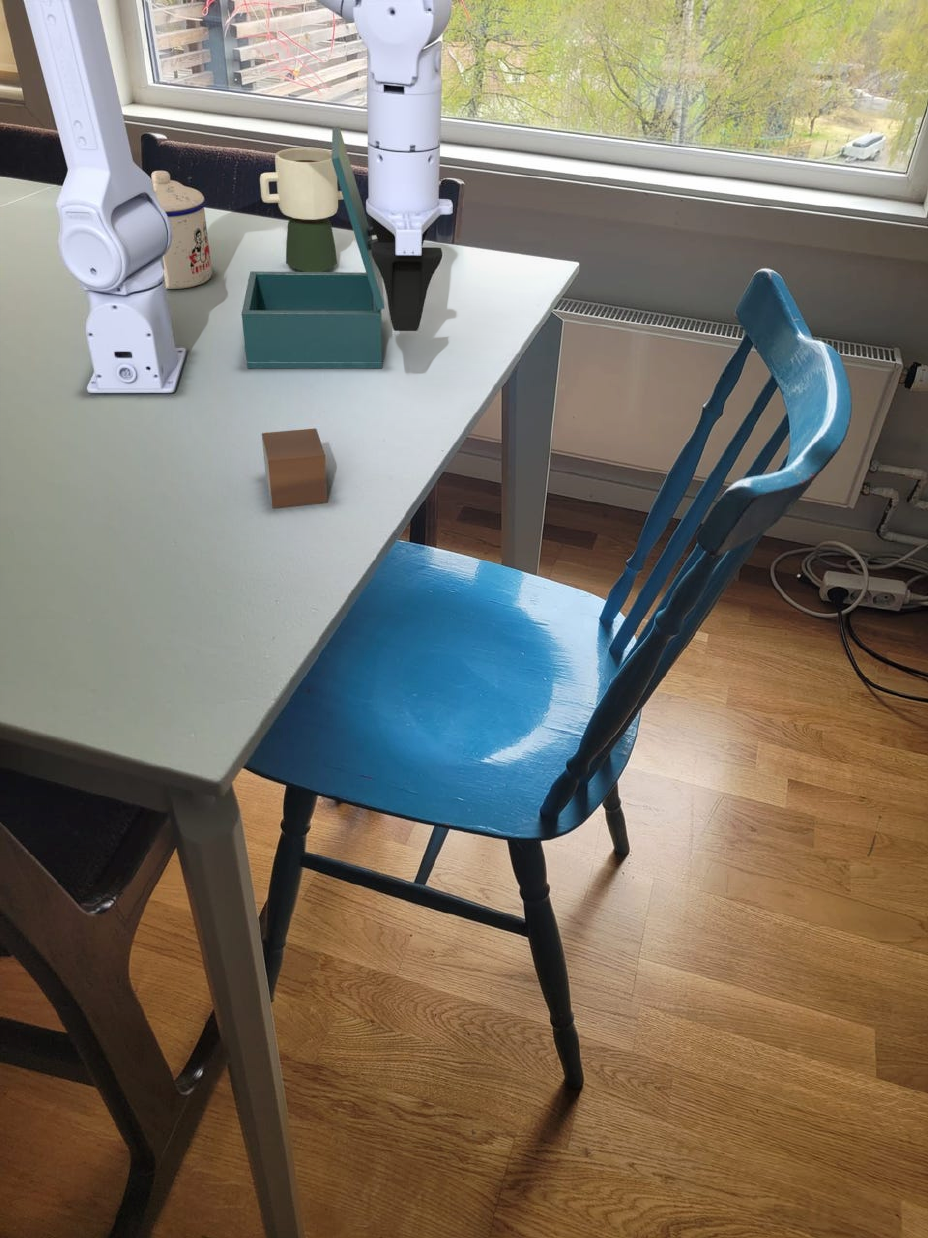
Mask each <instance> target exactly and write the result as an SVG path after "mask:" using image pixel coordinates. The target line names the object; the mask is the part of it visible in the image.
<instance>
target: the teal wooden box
mask: <svg viewBox="0 0 928 1238" xmlns="http://www.w3.org/2000/svg"><path fill="white" fill-rule="evenodd" d="M241 321H242V330H243V331H242V333H243V339H244V340H243V341H244V350H245V351H244V352H245V361H246V368H247V369H382V368H383V351H382V349H383V346H382V345H383V341H382V339H383V338H382V331H383V330H382V309H381V310H378V309H377V306H376V303H375V300H374V296H373V293H372V290H371V286H370V283H369V280H368V277H367V273H366V272H351V271H350V272H348V271H345V272H343V271H341V272H340V271H323V272H306V271H259V270H258V271H252V270H251V271H249V276H248V281H247V285H246V290H245V296H244V300H243V305H242V310H241Z"/></svg>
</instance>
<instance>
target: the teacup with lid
mask: <svg viewBox="0 0 928 1238" xmlns="http://www.w3.org/2000/svg"><path fill="white" fill-rule="evenodd" d="M150 176H151V177H150V178H151V179H152V182H153V187H154V191H155V195H156V197H157V199H158V201H159V203H160V205H161V206H162V208H163V209H164V211H165V212H166V214H167V216H168V218H169V221H170V224H171V228H172V242H171V246H170V248H169V250H168V251H167V253H166V254H165V255H164V256H163V262H164V270H163V271H164V278H165V284H166V290H180V289H181V290H182V289H188V288H194V287H198V286H200V285H202V284H204V283H206V282H207V281H209V280H210V279H211V277H212V276H213V269H212V261H211V253H210V245H209V244H210V243H209V235H208V228H207V219H206V210H205V207H206V204H207V200H206V199H205V197H204V194H203V193H202V192H201V191H200V190H198V189H195V188H192V187H190V186H185V185H183V184H182V183H181V182H178V181H176V180H173V179H171V174H170V173H169V172H168V171H166V170H154V171H152V173H151V174H150Z"/></svg>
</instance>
